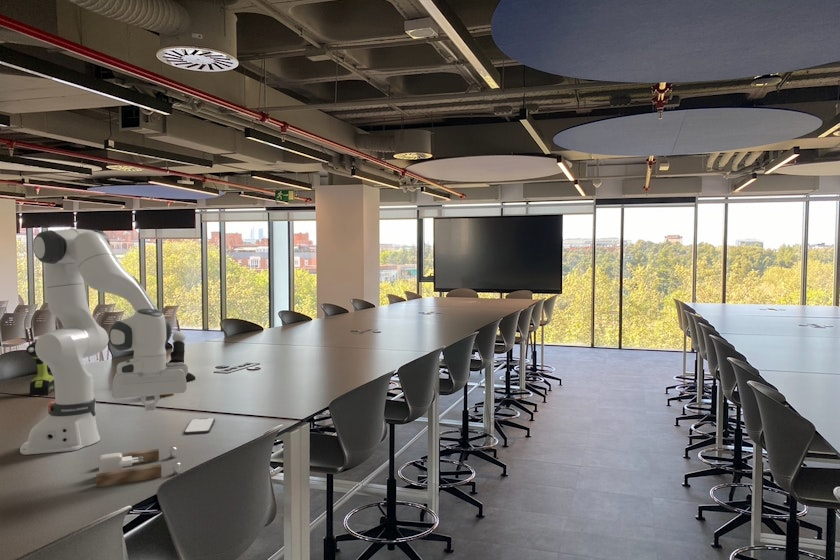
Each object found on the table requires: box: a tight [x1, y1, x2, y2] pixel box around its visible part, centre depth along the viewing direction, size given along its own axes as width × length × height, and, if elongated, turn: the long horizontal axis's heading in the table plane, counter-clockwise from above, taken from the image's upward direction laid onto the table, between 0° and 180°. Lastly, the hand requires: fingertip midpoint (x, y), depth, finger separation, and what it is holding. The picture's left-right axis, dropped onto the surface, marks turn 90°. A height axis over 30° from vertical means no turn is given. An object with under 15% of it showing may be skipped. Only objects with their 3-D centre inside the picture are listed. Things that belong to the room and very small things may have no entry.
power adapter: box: [98, 452, 143, 474], centre depth 163 cm, size 11×5×6 cm, turn 118°
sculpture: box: [167, 331, 196, 383], centre depth 286 cm, size 15×24×25 cm, turn 16°
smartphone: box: [183, 417, 216, 436], centre depth 208 cm, size 9×2×16 cm
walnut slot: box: [95, 448, 162, 488], centre depth 164 cm, size 16×17×3 cm
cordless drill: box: [25, 340, 55, 396], centre depth 257 cm, size 23×7×25 cm, turn 18°
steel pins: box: [168, 446, 181, 476], centre depth 169 cm, size 2×17×3 cm, turn 27°
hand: (150, 410), depth 169 cm, fingers closed
